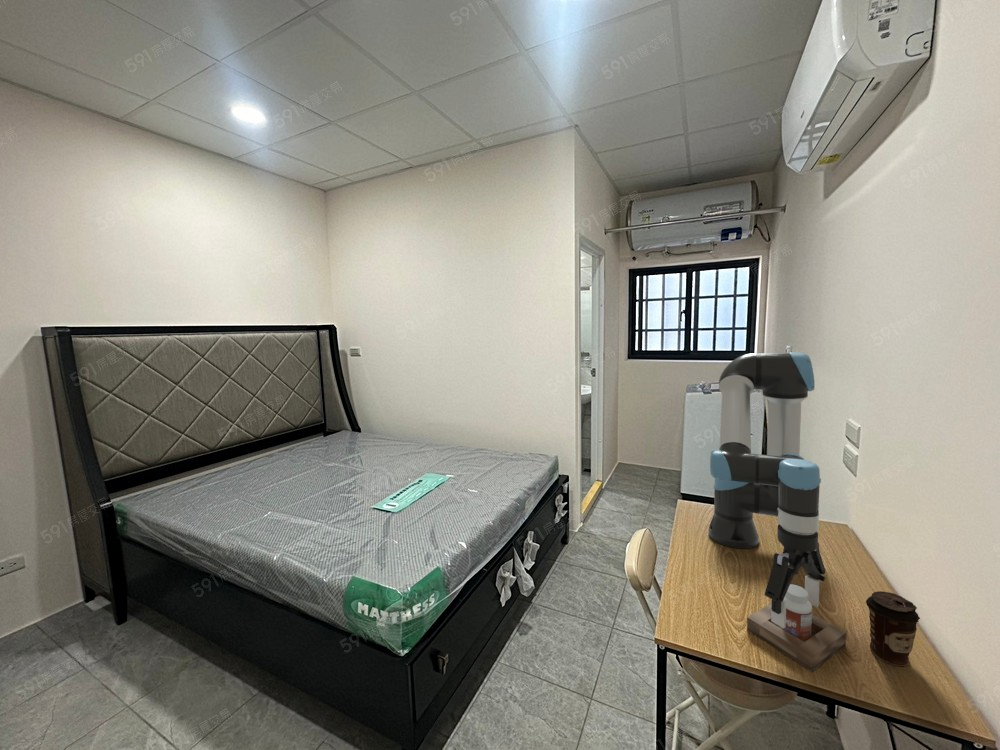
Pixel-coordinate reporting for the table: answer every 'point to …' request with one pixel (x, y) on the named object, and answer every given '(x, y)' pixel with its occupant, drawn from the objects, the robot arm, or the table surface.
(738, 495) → the robot arm
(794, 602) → the pill bottle
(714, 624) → the table surface
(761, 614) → the bore block
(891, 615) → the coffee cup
